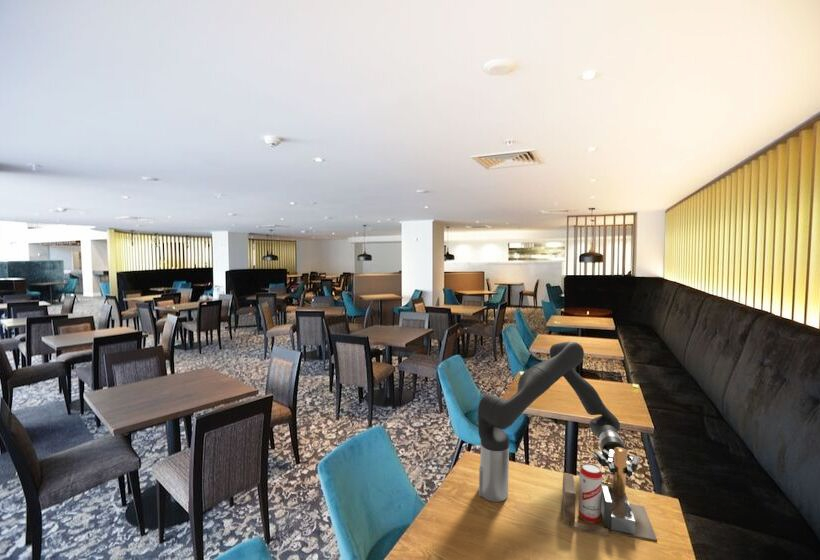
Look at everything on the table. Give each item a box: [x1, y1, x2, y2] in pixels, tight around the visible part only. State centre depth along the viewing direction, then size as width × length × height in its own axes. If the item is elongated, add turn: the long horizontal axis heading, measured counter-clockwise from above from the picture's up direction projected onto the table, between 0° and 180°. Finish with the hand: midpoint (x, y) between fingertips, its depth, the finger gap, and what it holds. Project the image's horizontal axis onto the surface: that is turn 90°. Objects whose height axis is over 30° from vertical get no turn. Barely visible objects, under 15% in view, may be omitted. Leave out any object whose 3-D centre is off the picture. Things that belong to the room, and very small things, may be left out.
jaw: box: [601, 447, 635, 534], centre depth 121 cm, size 8×15×18 cm, turn 162°
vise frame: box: [561, 472, 658, 542], centre depth 122 cm, size 24×17×10 cm
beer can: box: [577, 462, 603, 524], centre depth 121 cm, size 6×6×16 cm
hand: (621, 472), depth 123 cm, fingers closed on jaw, 3 cm apart
